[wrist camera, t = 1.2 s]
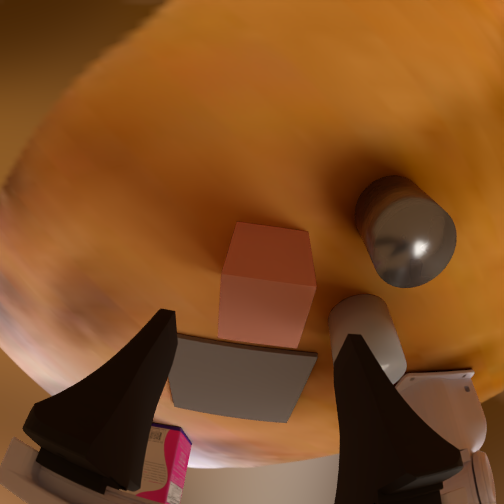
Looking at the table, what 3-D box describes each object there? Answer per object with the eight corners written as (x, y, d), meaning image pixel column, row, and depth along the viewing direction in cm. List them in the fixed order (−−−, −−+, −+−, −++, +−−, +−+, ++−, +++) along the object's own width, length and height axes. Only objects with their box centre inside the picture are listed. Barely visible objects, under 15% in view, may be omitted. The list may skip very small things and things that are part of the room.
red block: (308, 231, 16) (316, 286, 12) (294, 287, 19) (297, 348, 14) (237, 221, 17) (221, 273, 12) (231, 278, 19) (217, 337, 14)
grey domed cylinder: (397, 297, 18) (419, 352, 14) (374, 340, 21) (387, 394, 16) (338, 290, 18) (350, 350, 14) (320, 337, 21) (326, 394, 16)
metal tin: (433, 185, 14) (468, 215, 11) (410, 251, 16) (435, 291, 13) (365, 167, 14) (390, 194, 11) (346, 240, 17) (360, 282, 13)
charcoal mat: (317, 353, 22) (317, 357, 21) (286, 419, 28) (286, 423, 28) (162, 330, 22) (161, 334, 21) (175, 403, 28) (174, 406, 28)
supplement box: (156, 437, 35) (137, 503, 26) (141, 419, 32) (118, 493, 23) (193, 443, 35) (178, 513, 25) (182, 426, 32) (163, 506, 22)
